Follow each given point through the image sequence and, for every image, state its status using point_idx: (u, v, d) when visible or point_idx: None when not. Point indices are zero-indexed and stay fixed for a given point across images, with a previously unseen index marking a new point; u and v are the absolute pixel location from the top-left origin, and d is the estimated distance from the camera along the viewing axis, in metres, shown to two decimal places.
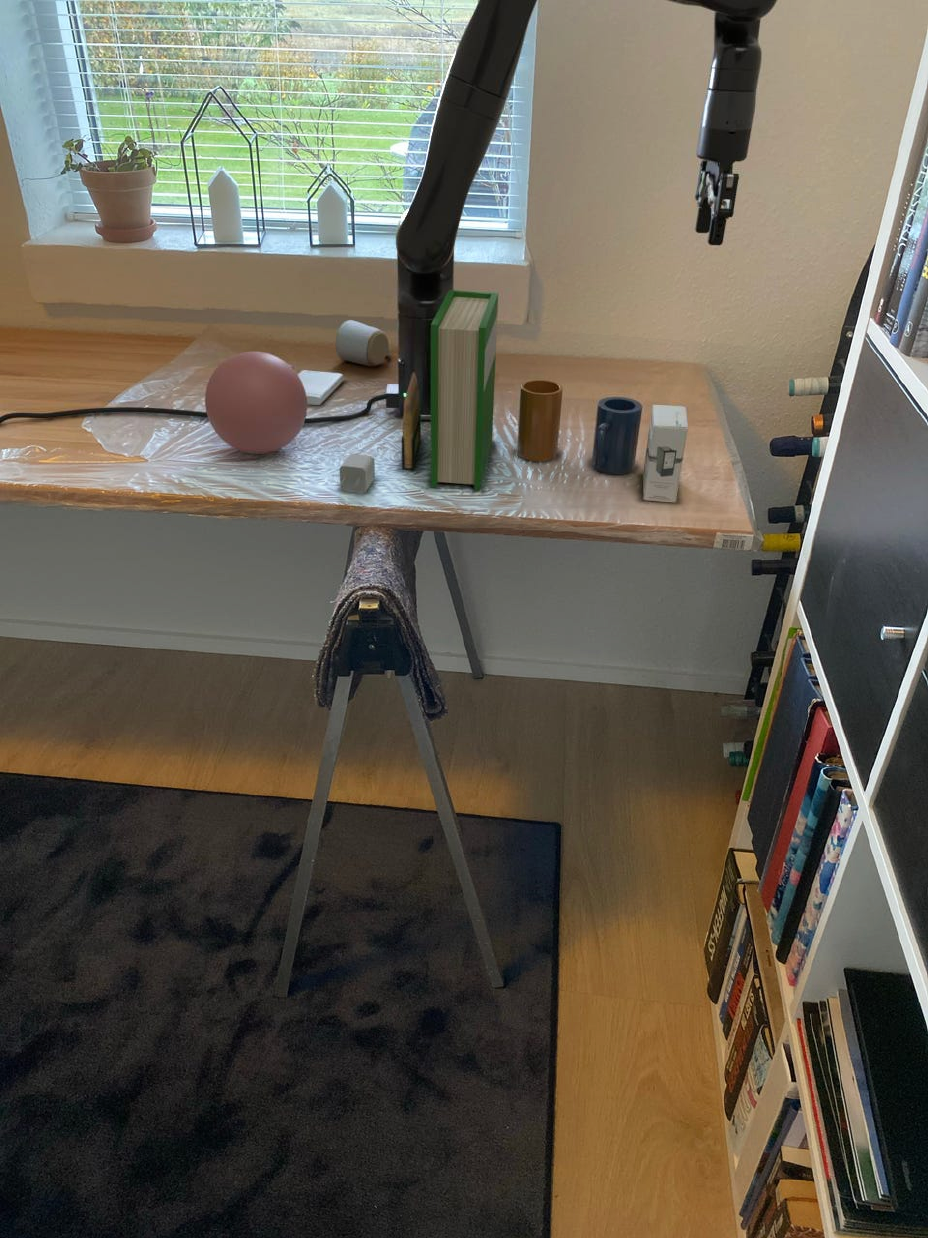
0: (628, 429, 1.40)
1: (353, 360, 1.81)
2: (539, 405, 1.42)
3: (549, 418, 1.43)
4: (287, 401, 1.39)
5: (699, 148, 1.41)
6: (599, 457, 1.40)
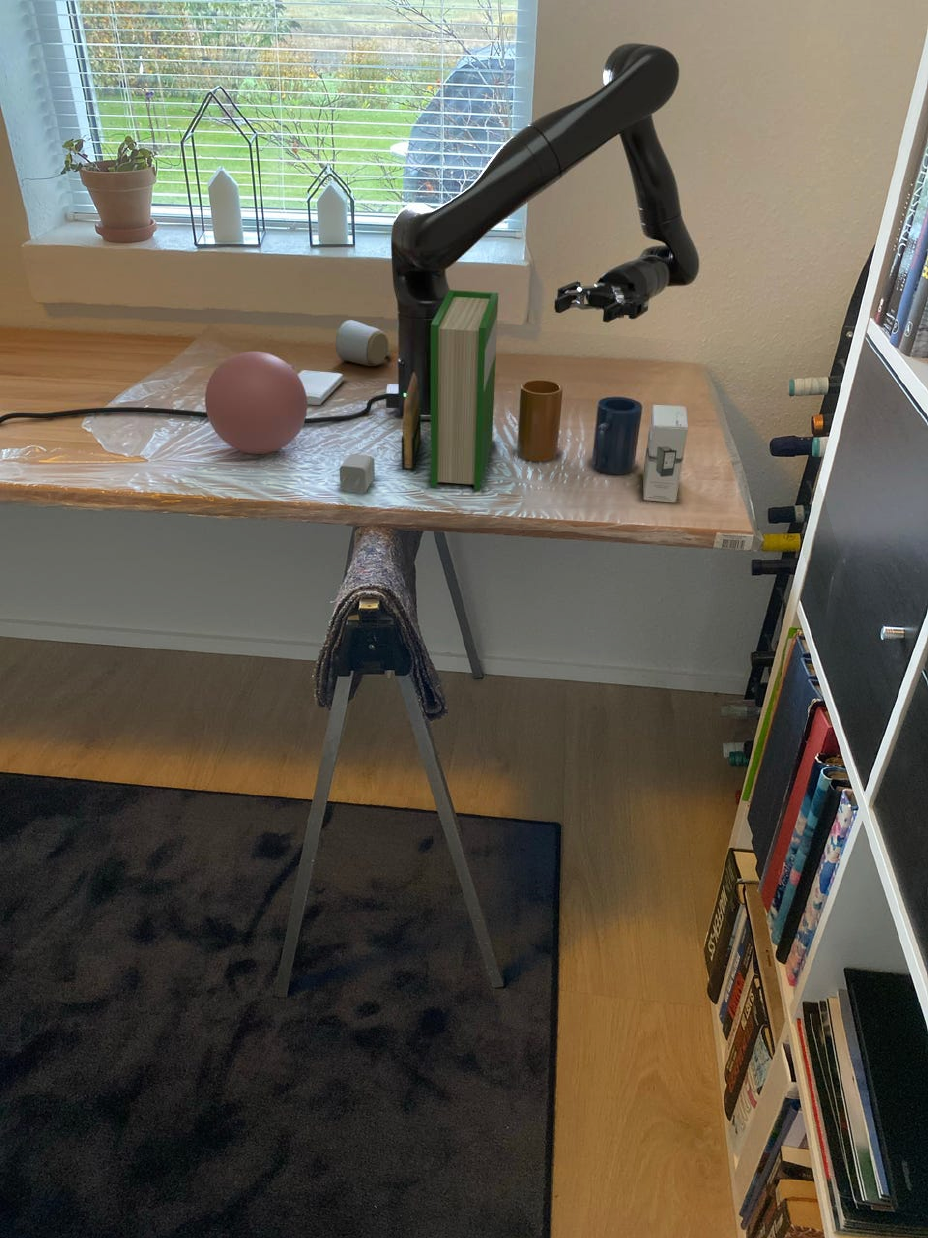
0: (628, 429, 1.40)
1: (353, 360, 1.81)
2: (539, 405, 1.42)
3: (549, 418, 1.43)
4: (287, 401, 1.39)
5: (624, 269, 1.52)
6: (599, 457, 1.40)
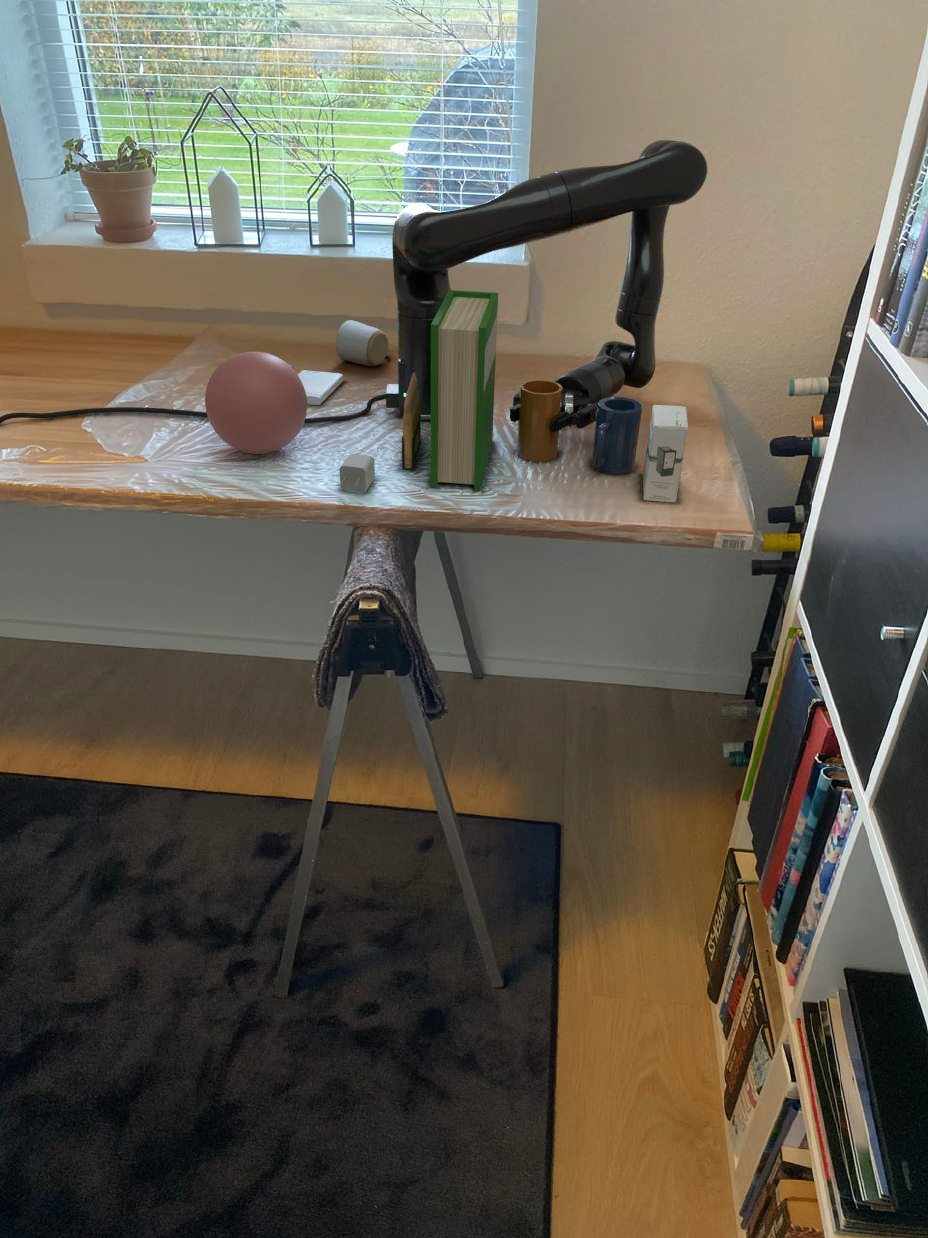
0: (628, 429, 1.40)
1: (353, 360, 1.81)
2: (539, 405, 1.42)
3: (549, 418, 1.43)
4: (287, 401, 1.39)
5: (578, 375, 1.51)
6: (599, 457, 1.40)
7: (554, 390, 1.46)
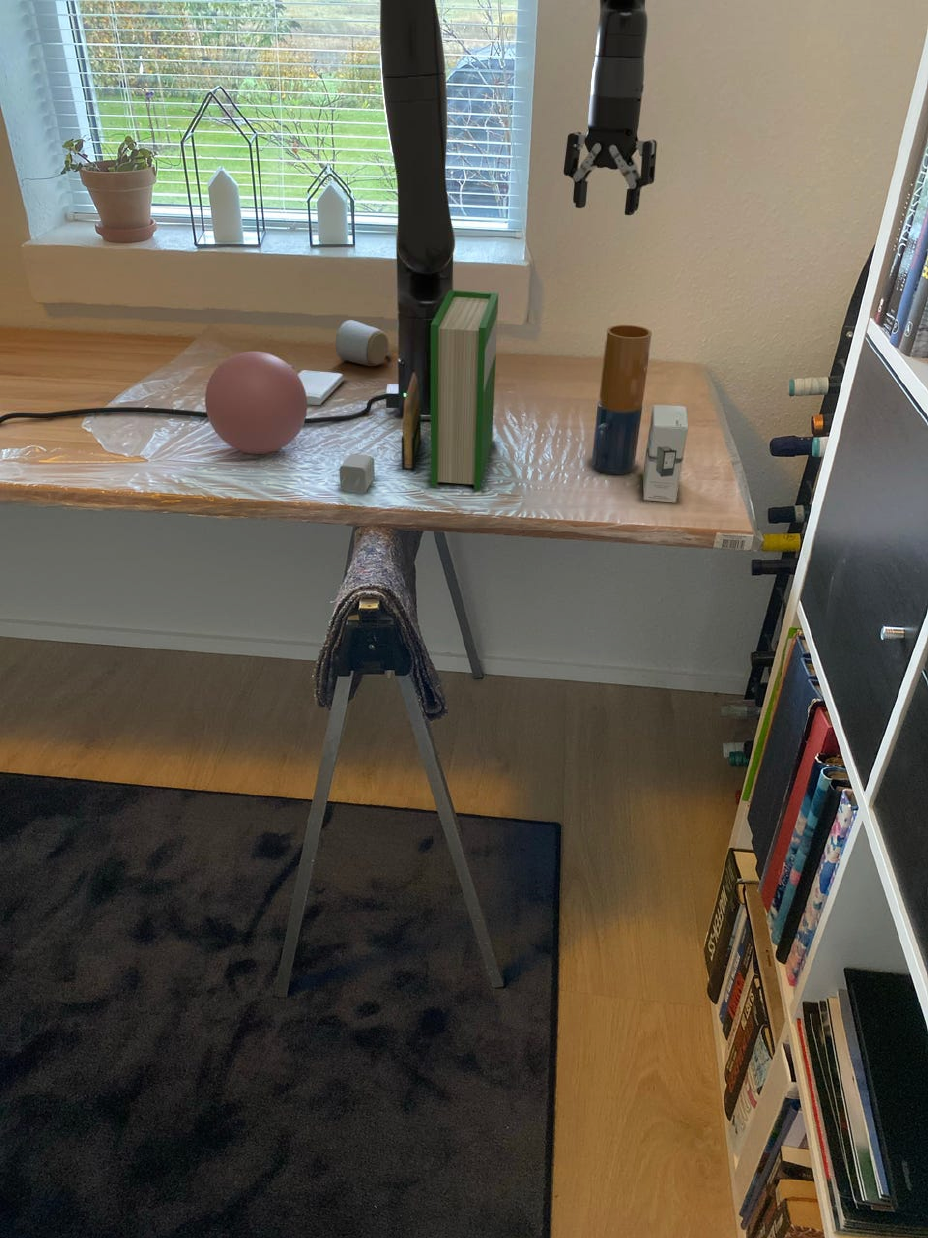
0: (628, 429, 1.40)
1: (353, 360, 1.81)
2: (628, 350, 1.33)
3: (637, 365, 1.34)
4: (287, 401, 1.39)
5: (606, 119, 1.36)
6: (599, 457, 1.40)
7: (641, 336, 1.37)
